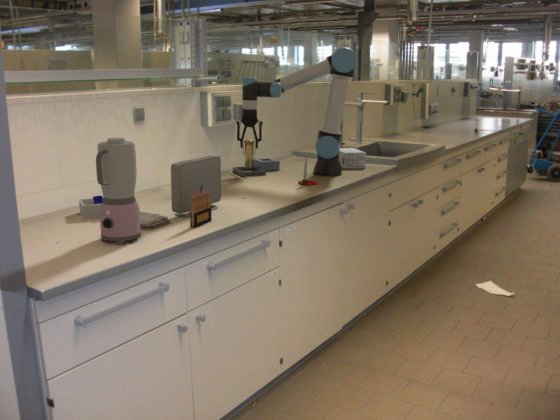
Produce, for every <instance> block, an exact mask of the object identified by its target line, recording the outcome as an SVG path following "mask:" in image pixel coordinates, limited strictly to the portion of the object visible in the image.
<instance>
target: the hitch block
mask: <svg viewBox="0 0 560 420" xmlns="http://www.w3.org/2000/svg"><path fill="white" fill-rule="evenodd" d="M280 165H281V164H280V160H278V159H276V158H274V157H264V158H263V157H262V158H253V166H255V167H257V168H260V169H262V170H264V171H266V172H273V171H280V167H281V166H280Z"/></svg>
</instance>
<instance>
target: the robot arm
mask: <svg viewBox="0 0 560 420" xmlns="http://www.w3.org/2000/svg"><path fill="white" fill-rule="evenodd" d="M357 62H358V57H357V53H356V52H355V50H353V49H352V48H350V47H347V46H342V47H339V48H337V49H336V50H335V51H334V52H333V54H330V55H329V56H326V58H325V59H324V60H322V61H319V62H317V63H314V64H312V65H309V66H307V67H304V68H302V69H299V70H297V71H294V72H292V73H289V74H287V75H284V76H282V77H280V78H277V79H275V80H272V81H259V80H258V79H259V78H257V77H254V76H253V77H252V76H251V77H250V76H248V77H243V78H242V87H241V88H242V95H241V96H242V100H241V102H242V103H241V105H242V106H241V108H242V109H241V112H242V114H241V118H240V119H239V120H236V126H237V128H236V140H237V141H239V142H240V148H241V149H242V155H243V156H245V142H244V140H245V135H246V130H247V128H251V129H252V132H253V137H254V152H253V156H256V154H257V153H256V151H257V150H256V149H259V142H262V135H263V134H262V131H263V129H262V126H263V124H264V123H263V121H262V120H259V119H258V109H257V108H258V98H273V99H274V98H275V99H278V98H281V97H282V94H284V93H287V92H288V91H290V90H294V89H296V88H299V87H302V86H304V85H307V84H309V83H312V82H314V81H317V80H319V79H322V78H324V77H327V76H330V77H331V82H330V86H329V93H328V97H327V102H326V108H325V113H324V119H323V124H322V127H320V128H319V129H318V134H317V139H316V143H315V147H314V148H315V151H316V155H317V156H316V158H317V159H316V161H315V163H314V166H313V173H314V174H315V175H318V176H323V177H324V176H325V177H326V176H327V177H335V176H341V175H342V172H343V168H342V167H341V165H340V161H339V151H340V148H341V141H342V136H343V133H342V131H341V125H342V121H343V120H342V119H343V116H344V110H345V106H346V99H347V94H348V89H349V86H350V82H351V81H352V79H354V76H355V70H356V66H357ZM241 124H243V126H244V127H243V131H242V134H241V135H240V133H241ZM257 124H258V133H259V134H258V135H257V131H256V128H255V126H256V125H257ZM240 136H241V137H240Z"/></svg>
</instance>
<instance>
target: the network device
mask: <svg viewBox="0 0 560 420" xmlns="http://www.w3.org/2000/svg"><path fill="white" fill-rule="evenodd" d="M221 162H222V160H221V156H217V155H207V156H201V157H196V158H192V159H187V160H181V161H177V162H173V163H171V165H170V183H171V184H170V186H171V187H170V188H171V189H170V190H171V191H170V192H171V211H172V212H173V213H175V214H174V215H175V216H177V217H182V218H190V214H185V213H188V212H191V204H192V195H193V193H194V195H195V194H196V192H197V195H198V192H199V191H200V194H201V191H203V193H204V190H206V191H207V189H208V190H209V196H210V207H211V212H212V211H215V210H218V209H219V206H218V205H217V204H216V203H218V202H221V199H222V177H221V176H222V175H221V173H222V167H221V165H222V164H221ZM215 204H216V205H215Z"/></svg>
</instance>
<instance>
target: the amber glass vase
mask: <svg viewBox="0 0 560 420" xmlns="http://www.w3.org/2000/svg"><path fill="white" fill-rule="evenodd" d="M243 141H244V167H245V168H253V159H254V142H255V139H243Z"/></svg>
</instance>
